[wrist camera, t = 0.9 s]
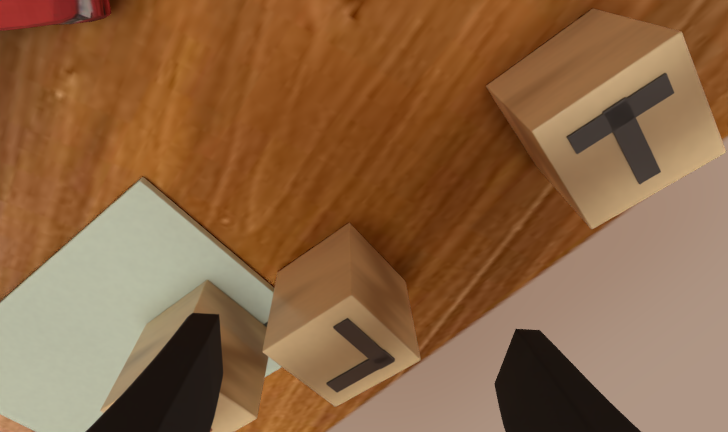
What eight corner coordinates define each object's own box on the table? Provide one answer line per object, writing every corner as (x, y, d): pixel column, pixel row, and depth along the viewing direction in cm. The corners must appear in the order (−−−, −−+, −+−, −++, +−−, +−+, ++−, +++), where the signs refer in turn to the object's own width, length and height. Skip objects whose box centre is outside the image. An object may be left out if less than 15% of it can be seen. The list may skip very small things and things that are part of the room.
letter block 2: (406, 281, 23) (422, 362, 18) (336, 324, 24) (335, 409, 19) (349, 221, 21) (351, 296, 16) (276, 272, 22) (260, 354, 18)
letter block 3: (636, 103, 18) (729, 153, 14) (536, 167, 20) (593, 232, 15) (592, 7, 16) (684, 31, 12) (485, 85, 18) (532, 132, 13)
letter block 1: (273, 332, 23) (257, 421, 19) (213, 371, 25) (184, 462, 20) (207, 278, 21) (171, 363, 17) (145, 323, 23) (97, 413, 18)
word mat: (328, 333, 24) (328, 339, 24) (115, 463, 29) (112, 470, 29) (142, 176, 19) (138, 181, 19) (-76, 368, 24) (-83, 375, 24)
